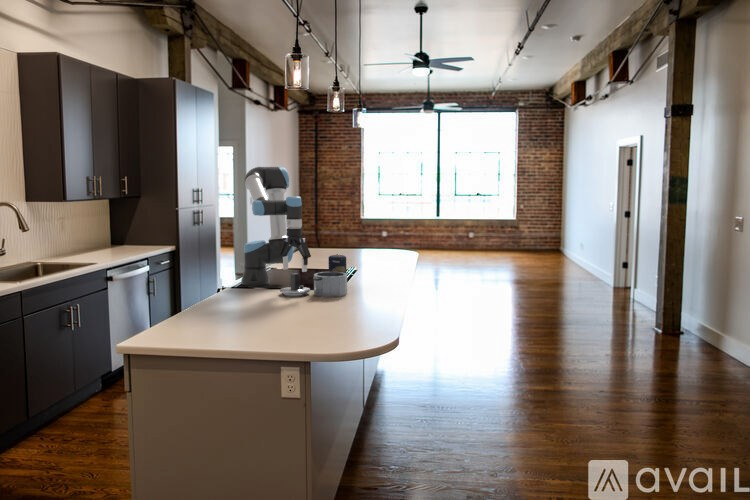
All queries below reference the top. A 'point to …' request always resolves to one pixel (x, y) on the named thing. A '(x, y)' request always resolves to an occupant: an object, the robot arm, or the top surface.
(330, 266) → the canister
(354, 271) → the top surface
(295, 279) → the lid
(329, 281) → the cooker pot
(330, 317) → the top surface
